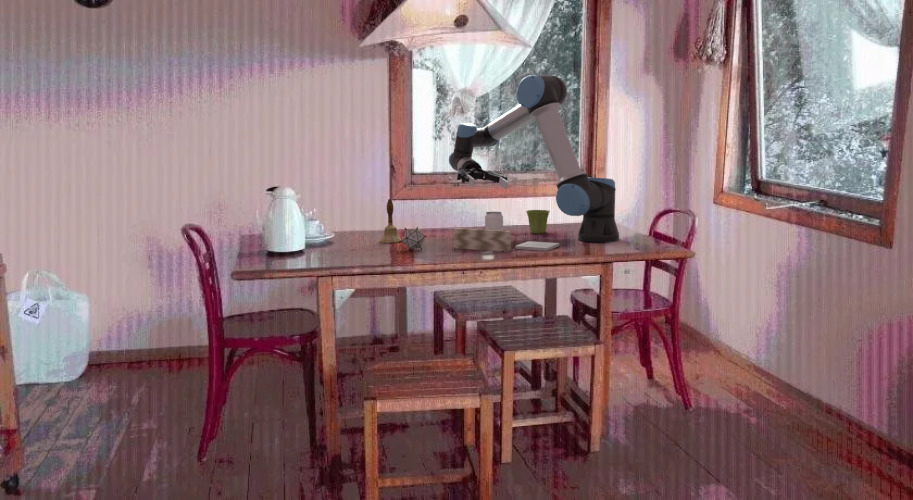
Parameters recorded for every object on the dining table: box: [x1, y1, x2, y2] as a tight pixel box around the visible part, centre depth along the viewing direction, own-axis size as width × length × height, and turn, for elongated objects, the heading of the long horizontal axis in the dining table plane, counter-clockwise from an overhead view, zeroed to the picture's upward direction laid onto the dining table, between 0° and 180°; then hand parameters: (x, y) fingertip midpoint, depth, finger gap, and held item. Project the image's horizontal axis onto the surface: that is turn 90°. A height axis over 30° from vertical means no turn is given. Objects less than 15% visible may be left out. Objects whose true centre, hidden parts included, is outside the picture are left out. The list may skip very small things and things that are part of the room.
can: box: [484, 211, 504, 230], centre depth 307 cm, size 6×6×12 cm
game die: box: [398, 226, 428, 252], centre depth 300 cm, size 9×8×10 cm
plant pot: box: [525, 209, 551, 234], centre depth 339 cm, size 9×9×9 cm
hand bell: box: [379, 198, 403, 244], centre depth 320 cm, size 8×8×16 cm
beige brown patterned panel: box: [453, 227, 512, 253], centre depth 299 cm, size 21×2×7 cm, turn 63°
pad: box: [514, 240, 560, 252], centre depth 303 cm, size 12×12×1 cm
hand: (490, 184), depth 314 cm, fingers open, 13 cm apart
